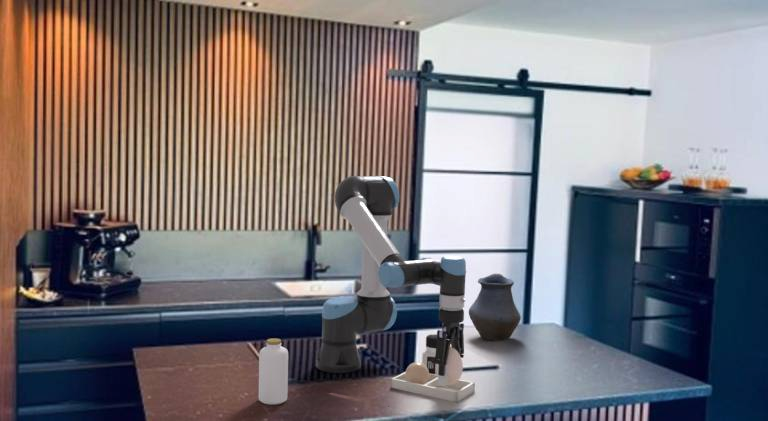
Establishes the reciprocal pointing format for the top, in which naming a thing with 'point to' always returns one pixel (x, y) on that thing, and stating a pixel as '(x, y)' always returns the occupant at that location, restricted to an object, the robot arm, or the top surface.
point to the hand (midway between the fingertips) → (448, 381)
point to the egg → (453, 366)
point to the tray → (435, 387)
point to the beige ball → (417, 373)
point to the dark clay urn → (495, 308)
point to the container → (430, 353)
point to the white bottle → (273, 373)
